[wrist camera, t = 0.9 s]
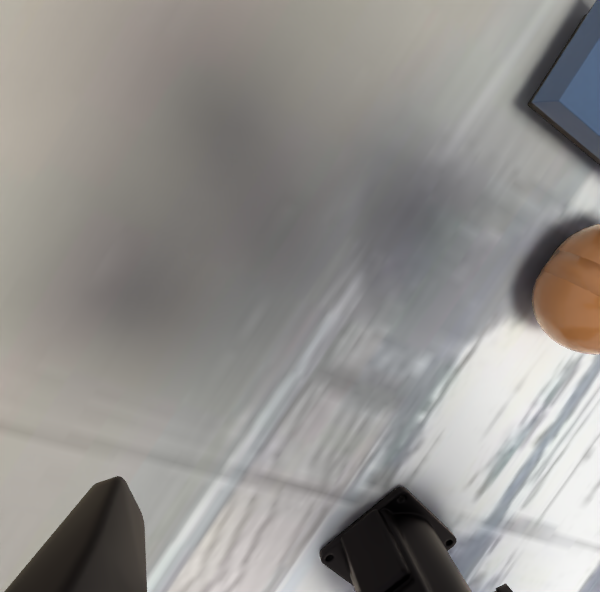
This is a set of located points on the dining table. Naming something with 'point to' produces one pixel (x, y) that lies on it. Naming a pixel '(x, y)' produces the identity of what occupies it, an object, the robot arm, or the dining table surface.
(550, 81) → the brush
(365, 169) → the dining table surface
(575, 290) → the egg
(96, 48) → the dining table surface
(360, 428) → the dining table surface
